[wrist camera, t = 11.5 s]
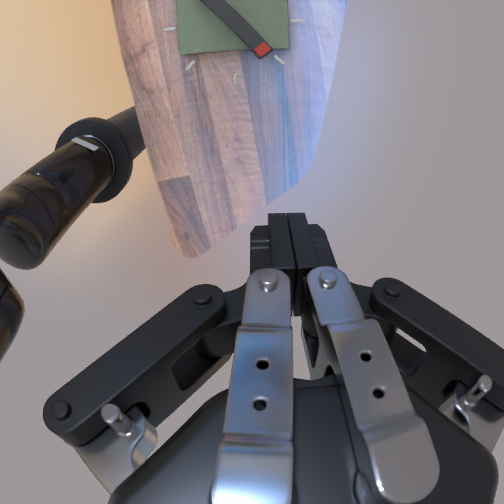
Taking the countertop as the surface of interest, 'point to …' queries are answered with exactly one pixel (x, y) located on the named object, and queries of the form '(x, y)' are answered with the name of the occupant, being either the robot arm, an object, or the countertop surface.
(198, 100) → the countertop surface
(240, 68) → the countertop surface
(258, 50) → the pointer
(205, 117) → the countertop surface
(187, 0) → the dial panel
